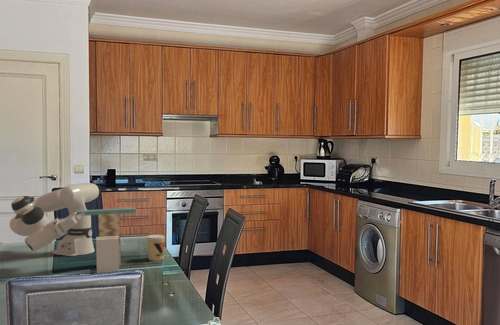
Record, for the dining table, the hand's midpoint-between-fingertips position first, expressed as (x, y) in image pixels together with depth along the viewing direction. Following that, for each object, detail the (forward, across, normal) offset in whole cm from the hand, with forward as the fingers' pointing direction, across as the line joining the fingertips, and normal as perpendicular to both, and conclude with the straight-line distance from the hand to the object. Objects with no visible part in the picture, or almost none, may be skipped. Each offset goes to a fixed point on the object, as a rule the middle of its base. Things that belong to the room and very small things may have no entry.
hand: (85, 212), depth 221 cm
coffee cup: (+16, -5, -41) cm, 45 cm away
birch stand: (-4, 0, -29) cm, 30 cm away
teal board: (+8, 0, -6) cm, 10 cm away
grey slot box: (-5, +11, -29) cm, 31 cm away
